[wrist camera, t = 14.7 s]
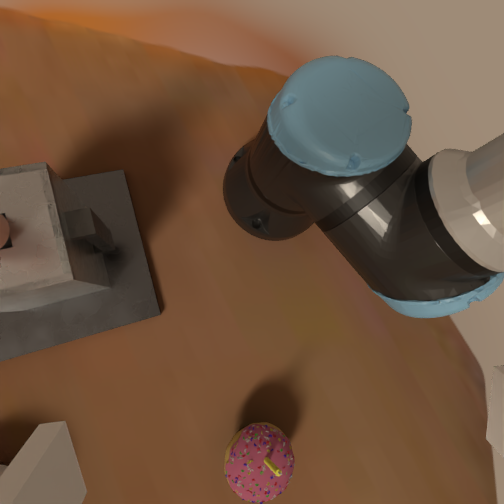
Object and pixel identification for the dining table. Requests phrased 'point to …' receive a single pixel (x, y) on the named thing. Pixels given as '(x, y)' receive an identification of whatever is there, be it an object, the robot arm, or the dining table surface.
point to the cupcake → (259, 462)
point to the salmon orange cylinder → (4, 233)
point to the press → (69, 259)
